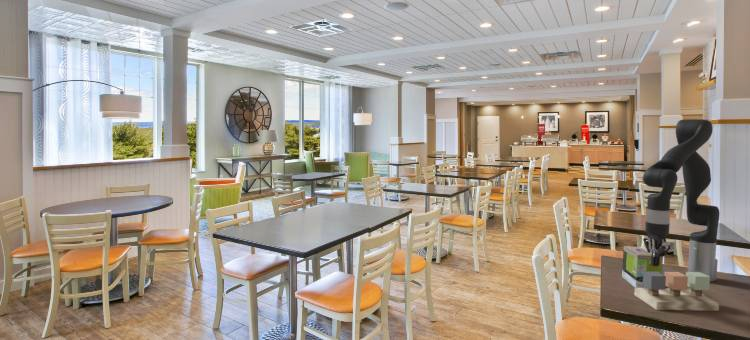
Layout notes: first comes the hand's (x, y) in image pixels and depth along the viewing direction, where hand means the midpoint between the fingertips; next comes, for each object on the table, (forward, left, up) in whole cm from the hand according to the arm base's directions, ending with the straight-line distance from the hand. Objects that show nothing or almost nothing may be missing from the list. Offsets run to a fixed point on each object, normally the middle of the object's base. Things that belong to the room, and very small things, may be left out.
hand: (654, 265), depth 156 cm
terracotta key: (-8, 0, -8) cm, 12 cm away
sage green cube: (-16, 0, -8) cm, 18 cm away
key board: (-8, 0, -14) cm, 17 cm away
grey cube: (0, 0, -8) cm, 8 cm away
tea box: (-7, -20, -15) cm, 26 cm away
